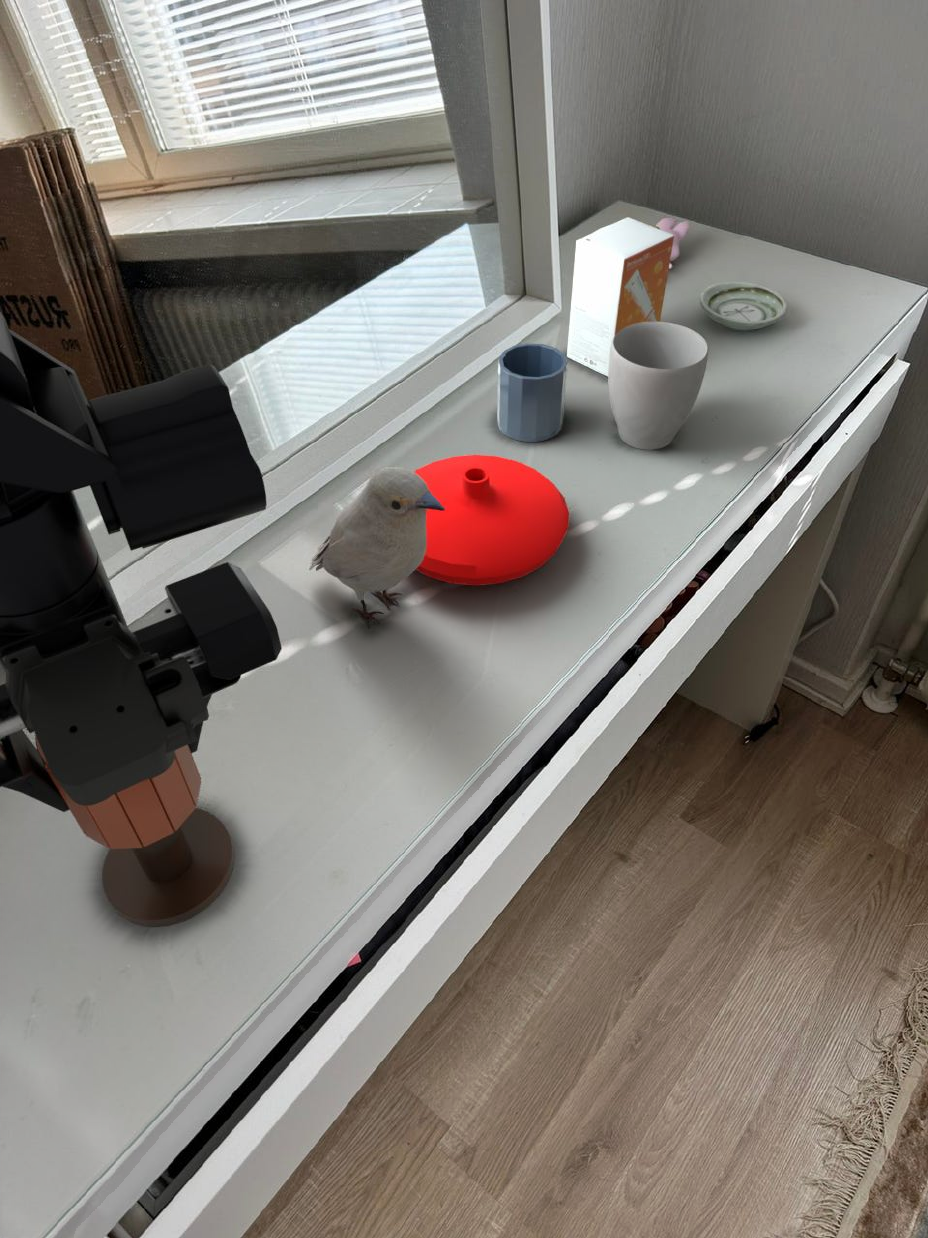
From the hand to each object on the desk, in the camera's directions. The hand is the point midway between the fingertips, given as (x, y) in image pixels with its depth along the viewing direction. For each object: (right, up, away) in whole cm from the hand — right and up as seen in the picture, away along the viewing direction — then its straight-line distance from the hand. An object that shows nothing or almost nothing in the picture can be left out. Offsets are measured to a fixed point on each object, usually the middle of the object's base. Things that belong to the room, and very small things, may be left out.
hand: (129, 775), depth 51 cm
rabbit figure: (+43, +53, +64) cm, 94 cm away
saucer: (+50, +43, +54) cm, 86 cm away
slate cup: (+25, +28, +40) cm, 55 cm away
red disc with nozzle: (+20, +15, +28) cm, 38 cm away
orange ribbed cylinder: (0, -1, +1) cm, 2 cm away
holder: (0, -7, +7) cm, 10 cm away
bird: (+12, +9, +23) cm, 27 cm away
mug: (+37, +28, +40) cm, 61 cm away
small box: (+35, +38, +50) cm, 71 cm away
